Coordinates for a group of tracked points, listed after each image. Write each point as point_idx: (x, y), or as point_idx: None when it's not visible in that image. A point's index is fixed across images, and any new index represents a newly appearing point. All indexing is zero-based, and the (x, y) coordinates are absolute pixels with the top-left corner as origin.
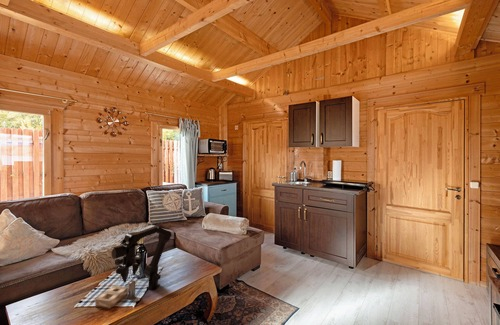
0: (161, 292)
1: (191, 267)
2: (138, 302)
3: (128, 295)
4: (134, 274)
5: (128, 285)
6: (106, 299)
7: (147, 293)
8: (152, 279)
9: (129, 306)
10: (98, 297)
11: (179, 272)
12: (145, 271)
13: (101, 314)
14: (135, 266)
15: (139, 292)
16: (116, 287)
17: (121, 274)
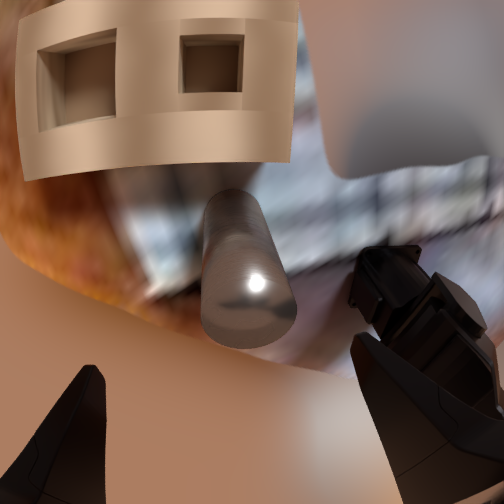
0: (324, 343)
1: (499, 319)
2: (195, 294)
3: (208, 215)
4: (356, 361)
5: (205, 281)
6: (31, 122)
7: (309, 284)
8: (389, 340)
9: (136, 269)
10: (43, 16)
11: (485, 303)
12: (437, 361)
13: (10, 156)
14: (421, 479)
15: (317, 223)
16: (265, 26)
17: (9, 493)
